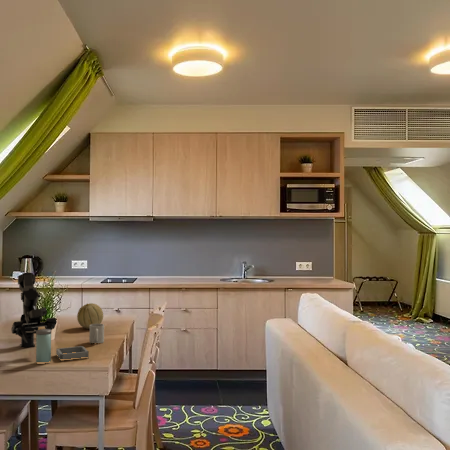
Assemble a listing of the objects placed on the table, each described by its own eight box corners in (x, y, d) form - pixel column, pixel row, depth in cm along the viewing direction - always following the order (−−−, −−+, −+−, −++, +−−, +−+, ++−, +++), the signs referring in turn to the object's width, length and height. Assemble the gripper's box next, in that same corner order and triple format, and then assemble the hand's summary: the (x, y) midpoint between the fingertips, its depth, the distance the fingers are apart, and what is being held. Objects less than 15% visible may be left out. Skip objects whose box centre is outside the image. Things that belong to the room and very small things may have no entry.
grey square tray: (56, 355, 223) (56, 348, 223) (82, 352, 228) (83, 345, 228) (60, 361, 212) (60, 354, 212) (88, 358, 218) (88, 351, 218)
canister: (37, 361, 212) (37, 329, 213) (52, 360, 214) (52, 328, 214) (34, 365, 206) (34, 332, 206) (49, 364, 207) (49, 331, 208)
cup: (104, 340, 253) (104, 323, 253) (103, 345, 243) (103, 327, 243) (89, 341, 251) (90, 323, 251) (88, 345, 242) (88, 327, 242)
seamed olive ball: (106, 326, 290) (107, 301, 290) (97, 331, 275) (98, 305, 275) (82, 325, 291) (83, 300, 291) (72, 330, 277) (73, 304, 277)
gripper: (13, 303, 215) (20, 333, 206) (55, 300, 226) (63, 328, 217) (8, 318, 221) (14, 348, 212) (50, 314, 232) (57, 342, 224)
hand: (38, 341), depth 216 cm, fingers open, 9 cm apart
